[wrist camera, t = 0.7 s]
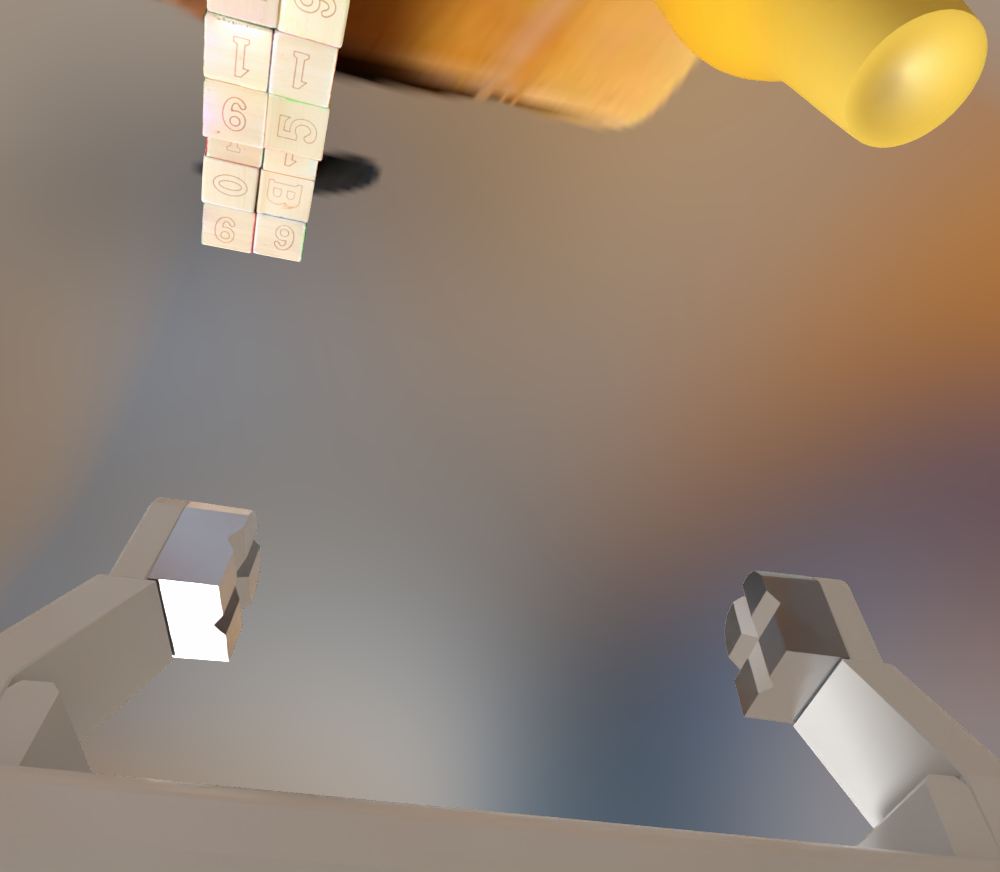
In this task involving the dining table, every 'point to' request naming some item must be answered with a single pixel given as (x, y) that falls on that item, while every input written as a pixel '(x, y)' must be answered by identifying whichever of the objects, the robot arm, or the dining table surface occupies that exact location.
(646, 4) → the dining table surface
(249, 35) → the stack of blocks
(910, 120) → the yellow bottle
